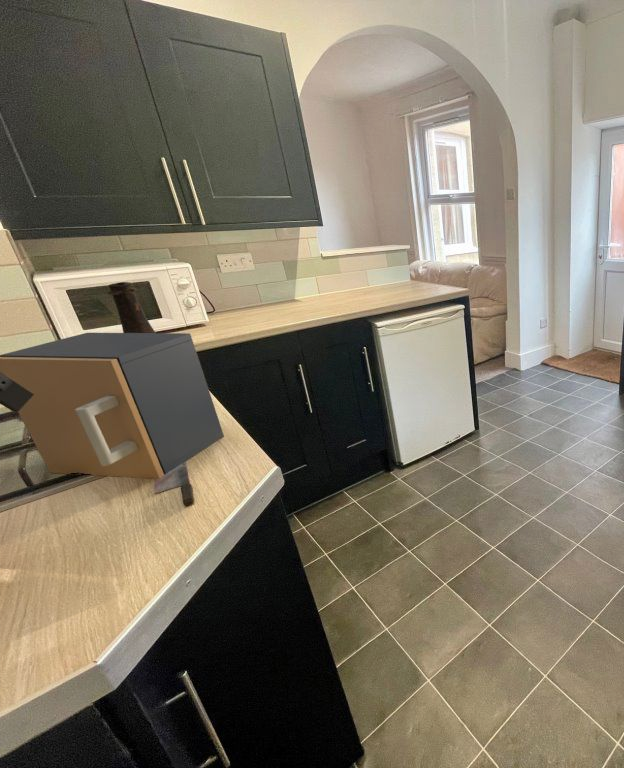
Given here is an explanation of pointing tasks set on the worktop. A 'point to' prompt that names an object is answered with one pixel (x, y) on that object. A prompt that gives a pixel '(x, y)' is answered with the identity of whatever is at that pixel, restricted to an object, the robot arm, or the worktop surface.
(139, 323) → the dark brown vase
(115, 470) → the cupboard door
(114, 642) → the worktop surface
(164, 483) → the cleaver
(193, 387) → the cupboard
